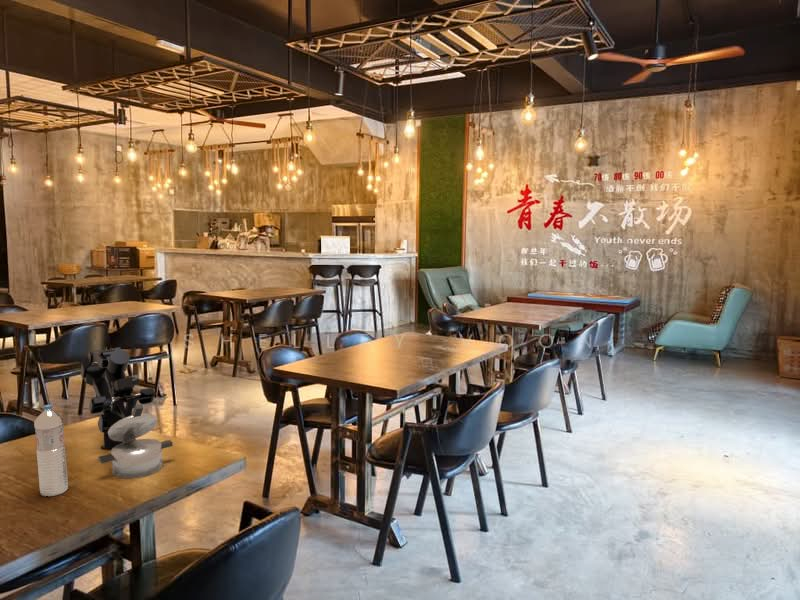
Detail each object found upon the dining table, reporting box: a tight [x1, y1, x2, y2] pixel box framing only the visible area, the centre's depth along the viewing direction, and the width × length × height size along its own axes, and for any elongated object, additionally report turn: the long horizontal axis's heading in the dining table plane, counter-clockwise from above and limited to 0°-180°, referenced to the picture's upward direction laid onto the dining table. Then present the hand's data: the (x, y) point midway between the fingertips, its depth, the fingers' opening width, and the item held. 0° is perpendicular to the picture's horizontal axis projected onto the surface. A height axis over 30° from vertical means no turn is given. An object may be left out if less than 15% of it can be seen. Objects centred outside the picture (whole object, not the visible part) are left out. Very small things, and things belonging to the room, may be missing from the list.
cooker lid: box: [108, 403, 158, 441], centre depth 175 cm, size 18×14×2 cm
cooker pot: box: [98, 438, 174, 479], centre depth 176 cm, size 15×21×7 cm
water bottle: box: [33, 404, 69, 497], centre depth 159 cm, size 7×7×25 cm
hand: (129, 422), depth 179 cm, fingers closed
